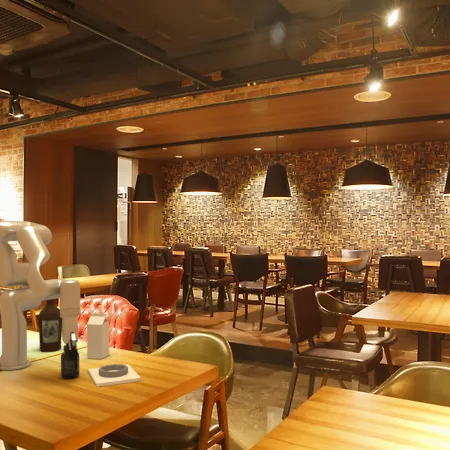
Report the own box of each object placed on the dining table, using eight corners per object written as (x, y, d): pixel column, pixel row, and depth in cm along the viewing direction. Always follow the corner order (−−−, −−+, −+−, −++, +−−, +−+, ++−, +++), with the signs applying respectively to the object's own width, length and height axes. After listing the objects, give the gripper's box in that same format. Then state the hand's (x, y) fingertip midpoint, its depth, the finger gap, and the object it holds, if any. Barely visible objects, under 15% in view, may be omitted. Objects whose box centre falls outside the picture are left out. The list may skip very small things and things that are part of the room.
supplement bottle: (83, 375, 190) (83, 344, 190) (70, 380, 184) (70, 348, 184) (69, 373, 193) (69, 342, 193) (56, 378, 187) (56, 346, 187)
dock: (96, 387, 176) (96, 378, 176) (87, 372, 194) (87, 364, 194) (140, 381, 182) (140, 372, 182) (128, 367, 200) (128, 359, 200)
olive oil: (38, 348, 234) (38, 295, 234) (62, 346, 238) (61, 294, 238) (38, 353, 224) (37, 298, 224) (62, 351, 228) (62, 297, 228)
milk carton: (102, 359, 213) (102, 315, 213) (87, 358, 214) (86, 314, 215) (109, 355, 220) (109, 312, 220) (94, 354, 221) (94, 312, 222)
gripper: (57, 310, 195) (58, 354, 194) (62, 316, 179) (63, 363, 179) (77, 308, 198) (78, 351, 197) (83, 314, 182) (85, 361, 182)
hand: (71, 357), depth 188 cm, fingers open, 9 cm apart
